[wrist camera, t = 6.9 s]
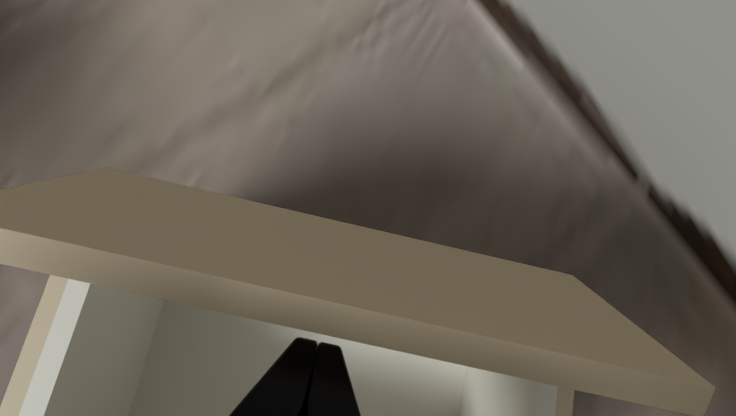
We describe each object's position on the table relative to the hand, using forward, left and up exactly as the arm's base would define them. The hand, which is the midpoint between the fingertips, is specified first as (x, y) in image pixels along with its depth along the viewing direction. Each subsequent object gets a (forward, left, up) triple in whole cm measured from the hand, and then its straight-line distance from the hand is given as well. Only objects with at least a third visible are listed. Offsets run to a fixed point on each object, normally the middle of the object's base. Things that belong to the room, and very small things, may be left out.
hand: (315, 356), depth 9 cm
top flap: (0, +2, -2) cm, 2 cm away
